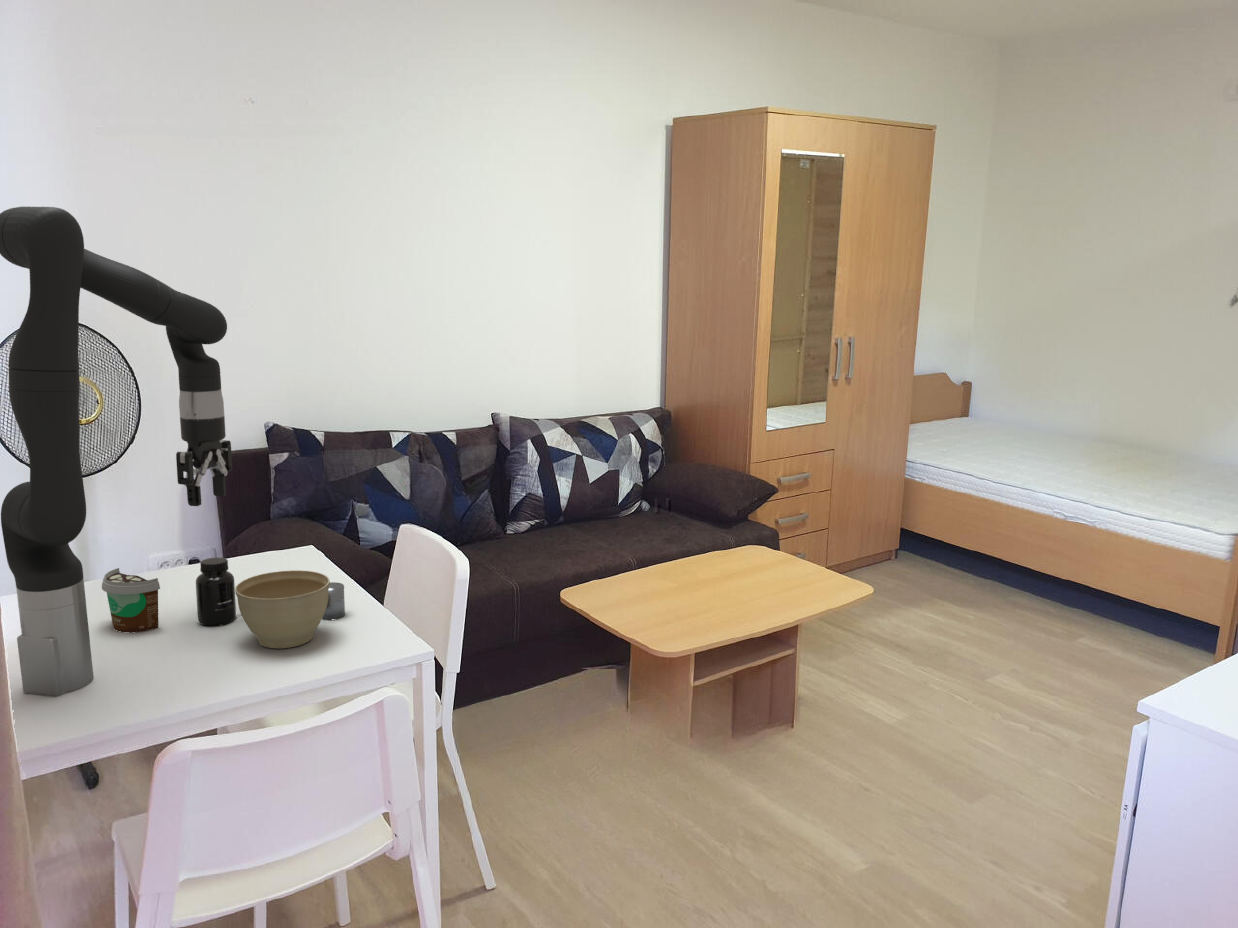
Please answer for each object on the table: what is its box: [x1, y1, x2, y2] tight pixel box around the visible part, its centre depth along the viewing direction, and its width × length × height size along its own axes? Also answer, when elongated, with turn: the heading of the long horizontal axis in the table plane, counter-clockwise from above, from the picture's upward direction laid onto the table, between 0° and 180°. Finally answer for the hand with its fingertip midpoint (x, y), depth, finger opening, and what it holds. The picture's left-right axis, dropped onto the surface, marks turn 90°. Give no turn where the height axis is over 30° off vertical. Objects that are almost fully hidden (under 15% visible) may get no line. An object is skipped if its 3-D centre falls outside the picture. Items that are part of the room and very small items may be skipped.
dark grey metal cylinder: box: [322, 581, 346, 621], centre depth 183 cm, size 5×5×6 cm
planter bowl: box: [235, 569, 331, 649], centre depth 170 cm, size 16×16×11 cm
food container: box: [101, 567, 161, 634], centre depth 174 cm, size 12×6×10 cm, turn 62°
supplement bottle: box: [195, 557, 237, 627], centre depth 178 cm, size 7×7×12 cm
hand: (207, 500), depth 174 cm, fingers open, 7 cm apart
